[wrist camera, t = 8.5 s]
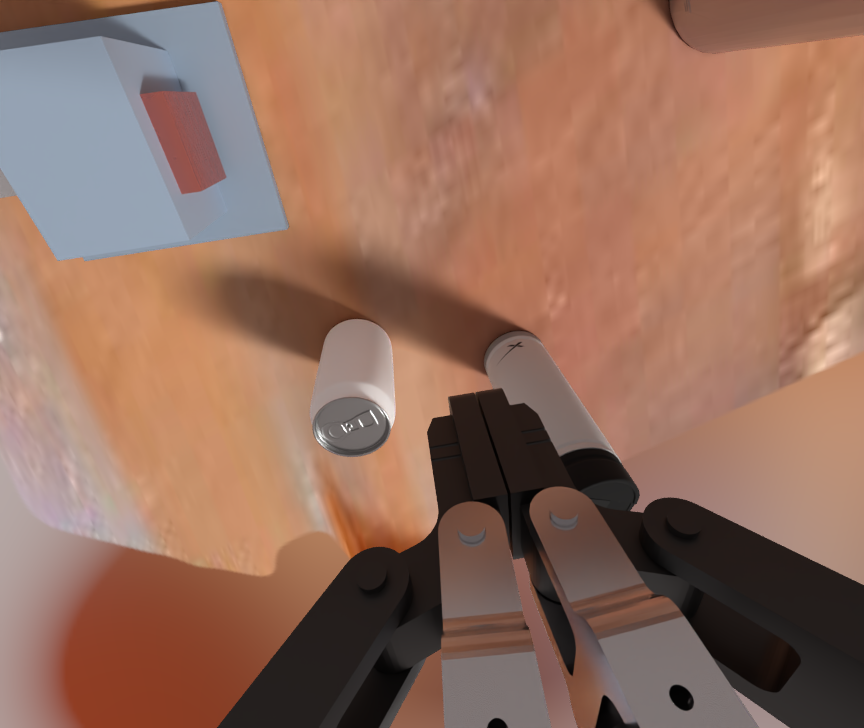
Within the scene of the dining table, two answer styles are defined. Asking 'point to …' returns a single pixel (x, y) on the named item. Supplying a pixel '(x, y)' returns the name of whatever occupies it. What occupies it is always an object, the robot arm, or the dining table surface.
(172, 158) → the pin
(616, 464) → the travel mug
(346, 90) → the dining table surface
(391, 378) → the can
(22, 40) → the block
